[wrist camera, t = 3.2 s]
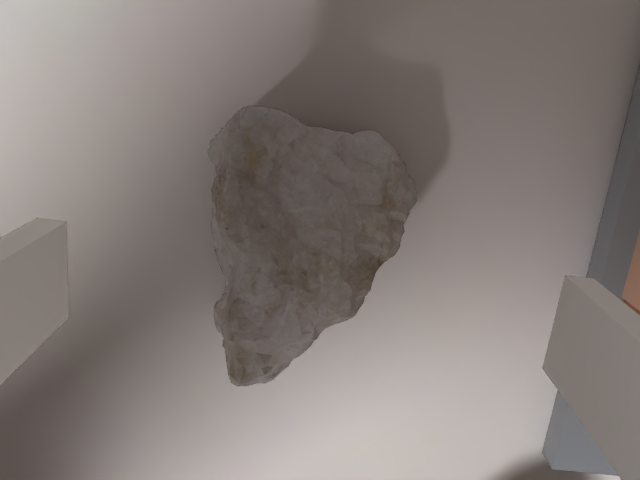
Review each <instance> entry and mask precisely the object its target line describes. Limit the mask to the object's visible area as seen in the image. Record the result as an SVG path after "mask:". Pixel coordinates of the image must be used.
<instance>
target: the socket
mask: <svg viewBox="0 0 640 480" xmlns="http://www.w3.org/2000/svg"><path fill="white" fill-rule="evenodd" d="M586 278H593V279H595V280H596V281H598V282H599V283H600V284H601V285H603V286H604V287H605V288H606V289H608V290H609V291H610V292H611V293H613V294H614V295H615V296H616V297H618V298H619V299H620V300H621V301H623V302H624V303H625V304H626V305H627V306H629V307H630V308H631V309H632V310H634V311H635V312H636V313H637V314H639V315H640V67H639V71H638V75H637V79H636V83H635V87H634V91H633V95H632V99H631V103H630V107H629V111H628V115H627V119H626V123H625V127H624V131H623V135H622V139H621V142H620V146H619V150H618V154H617V158H616V162H615V166H614V170H613V174H612V178H611V182H610V186H609V190H608V194H607V198H606V202H605V206H604V210H603V214H602V218H601V222H600V226H599V230H598V234H597V237H596V241H595V245H594V249H593V253H592V257H591V261H590V265H589V269H588V273H587V277H586ZM542 453H543V455H544V457H545V458H546V460H547V462H548V463H549V465H550V467H551V469H553V470H564V471H574V472H585V473H595V474H606V475H616V476H619V475H618V474H617V473H616V471H615V470H614V468H613V467H612V466H611V464H610V463H609V461H608V460H607V459H606V457H605V456H604V454H603V453H602V451H601V450H600V449H599V447H598V446H597V444H596V443H595V442H594V440H593V439H592V437H591V436H590V435H589V433H588V432H587V430H586V429H585V427H584V426H583V425H582V423H581V422H580V420H579V419H578V418H577V416H576V415H575V413H574V412H573V411H572V409H571V408H570V406H569V405H568V403H567V402H566V401H565V399H564V398H563V396H562V395H561V394H560V392H559V391H558V392H557V396H556V400H555V404H554V408H553V412H552V416H551V420H550V424H549V427H548V431H547V435H546V439H545V443H544V447H543V451H542Z"/></svg>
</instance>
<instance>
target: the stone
mask: <svg viewBox="0 0 640 480" xmlns="http://www.w3.org/2000/svg"><path fill="white" fill-rule="evenodd" d="M208 155H209V157H210V160H211V161H212V162H213V163H214V164H216V165H217V166H216V175H217V176H216V178H215V181H214V184H213V186H212V198H213V203H214V204H213V219H212V223H211V228H212V232H213V234H214V237H215V242H216V245H215V253H216V255H217V258H218V261H219V264H220V267H221V269H222V272H223V275H224V277H225V291H224V293H223V296H222V298H221V299H220V300H219V301H218V302H217V303H216V304H215V306H214V321H215V326H216V328H217V329H218V331H219V332H221V333H222V335H223V337H224V339H223V347H224V348H225V353H226V362H227V368H228V375H229V378H230V380H231V383H233V384H234V385H236V386H248V385H252V384H256V383H267V382H269V381H271V380H273V379H274V378H275V377H276V376H277V375H278V374H279V373H280V372H281V371H283V370H284V369H285V368H287V367H288V366H289V364H290V362H291V361H292V360H293V359H294V358H296V357H298V356H300V355H301V354H302V353H303V352H304V351H306V350H307V349H308V348H309V347H310V346H311V344H312V343H313V341H314V340H316V339H317V338H318V336H319V334H320V333H321V332H322V331H323V330H324V329H325V328H327V327H329V326H331V325H334V324H336V323H340V322H343V321H346V320H348V319H350V318H352V317H353V316H355V315H356V313H357V311H358V310H359V308H360V307H361V305H362V304H363V302H364V298H365V296H366V295H367V293H368V292H369V291H370V289H371V285H372V282H373V279H374V276H375V273H376V271H377V270H378V268H379V267H380V266H381V265H382V264H383V263H384V262H385V261H386V260H388V259H389V258H391V257H392V256H394V255H395V253H396V252H397V250H398V249H399V247H400V241H401V237H402V235H403V233H404V226H403V224H404V223H405V221H406V219H407V217H408V215H409V211H410V209H411V208H412V207H413V206H414V205H415V203H416V201H417V193H416V189H415V185H414V182H413V180H412V178H411V176H410V175H409V173H408V171H407V169H406V165H405V163H404V162H403V160H402V159H401V158H400V155H399V153H398V151H397V150H396V149H395V148H394V147H393V146H392V145H391V144H390V143H389V142H388V141H387V140H386V139H385V138H384V137H382V136H381V135H380V134H379V133H378V132H376V131H372V130H365V131H359V132H355V133H353V134H350V133H348V132H343V131H332V130H329V129H326V128H322V127H311V126H306V125H305V124H303V123H301V122H300V121H298V120H297V119H296V118H294V117H292V116H291V115H289V114H288V113H286V112H283V111H280V110H278V109H276V108H273V109H270V108H268V107H261V106H247V107H244V108H242V109H240V110H239V111H238V112H237V114H236V115H234V116H233V118H232V119H231V120H229V121H228V122H227V124H226V125H225V127H224V128H222V129H221V131H220V133H219V134H218V135H216V136H215V138H214V139H212V140H210V148H209V149H208Z"/></svg>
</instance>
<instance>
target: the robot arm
mask: <svg viewBox="0 0 640 480" xmlns="http://www.w3.org/2000/svg"><path fill="white" fill-rule="evenodd" d="M67 319H68V259H67V221H59V220H50V219H41V218H37V219H35V220H33V221H31V222H29V223H27V224H25V225H23V226H21V227H20V228H18V229H16V230H14V231H12V232H10V233H8V234H6V235H5V236H3V237H1V238H0V385H1V384H2V383H3V382H4V381H5V380H6V379H7V378H8V377H9V376H10V375H11V374H12V373H13V372H14V371H15V370H16V369H17V368H18V367H19V366H20V365H21V364H22V363H24V362H25V361H26V360H27V359H28V358H29V357H30V356H31V355H32V354H33V353H34V352H35V351H36V350H37V349H38V348H39V347H40V346H41V345H42V344H43V343H44V342H45V341H46V340H47V339H48V338H49V337H50V336H51V335H52V334H53V333H54V332H55V331H56V330H57V329H58V328H59V327H60V326H61V325H62V324H63V323H64V322H65V321H66V320H67ZM543 370H544V371H545V372H546V374H547V375H548V377H549V378H550V380H551V381H552V382H553V384H554V385H555V387H556V388H557V389H558V391H559V392H560V394H561V395H562V396H563V398H564V399H565V401H566V402H567V403H568V405H569V406H570V408H571V409H572V411H573V412H574V413H575V415H576V416H577V418H578V419H579V420H580V422H581V423H582V425H583V426H584V427H585V429H586V430H587V432H588V433H589V435H590V436H591V437H592V439H593V440H594V442H595V443H596V444H597V446H598V447H599V449H600V450H601V451H602V453H603V454H604V456H605V457H606V459H607V460H608V461H609V463H610V464H611V466H612V467H613V468H614V470H615V471H616V473H617V474H618V475H619V477H620V478H621V480H640V315H639V314H637V313H636V312H635V311H634V310H632V309H631V308H630V307H629V306H627V305H626V304H625V303H624V302H623V301H621V300H620V299H619V298H618V297H616V296H615V295H614V294H613V293H611V292H610V291H609V290H608V289H606V288H605V287H604V286H603V285H601V284H600V283H599V282H598V281H596V280H595V279H593V278H584V277H575V276H566V275H565V279H564V283H563V287H562V291H561V295H560V299H559V303H558V307H557V311H556V315H555V319H554V324H553V328H552V332H551V336H550V340H549V344H548V348H547V352H546V356H545V360H544V364H543Z"/></svg>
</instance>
